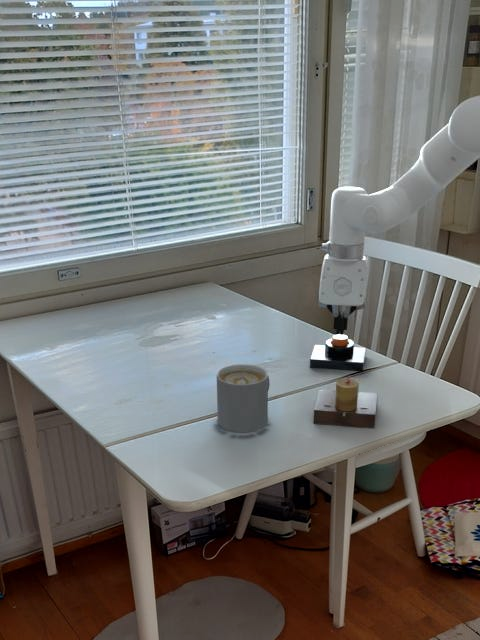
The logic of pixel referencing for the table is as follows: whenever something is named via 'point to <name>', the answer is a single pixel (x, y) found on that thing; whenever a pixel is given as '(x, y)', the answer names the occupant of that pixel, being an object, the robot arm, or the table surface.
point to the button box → (338, 357)
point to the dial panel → (355, 418)
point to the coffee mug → (242, 398)
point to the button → (340, 340)
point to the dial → (346, 394)
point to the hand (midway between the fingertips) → (339, 332)
